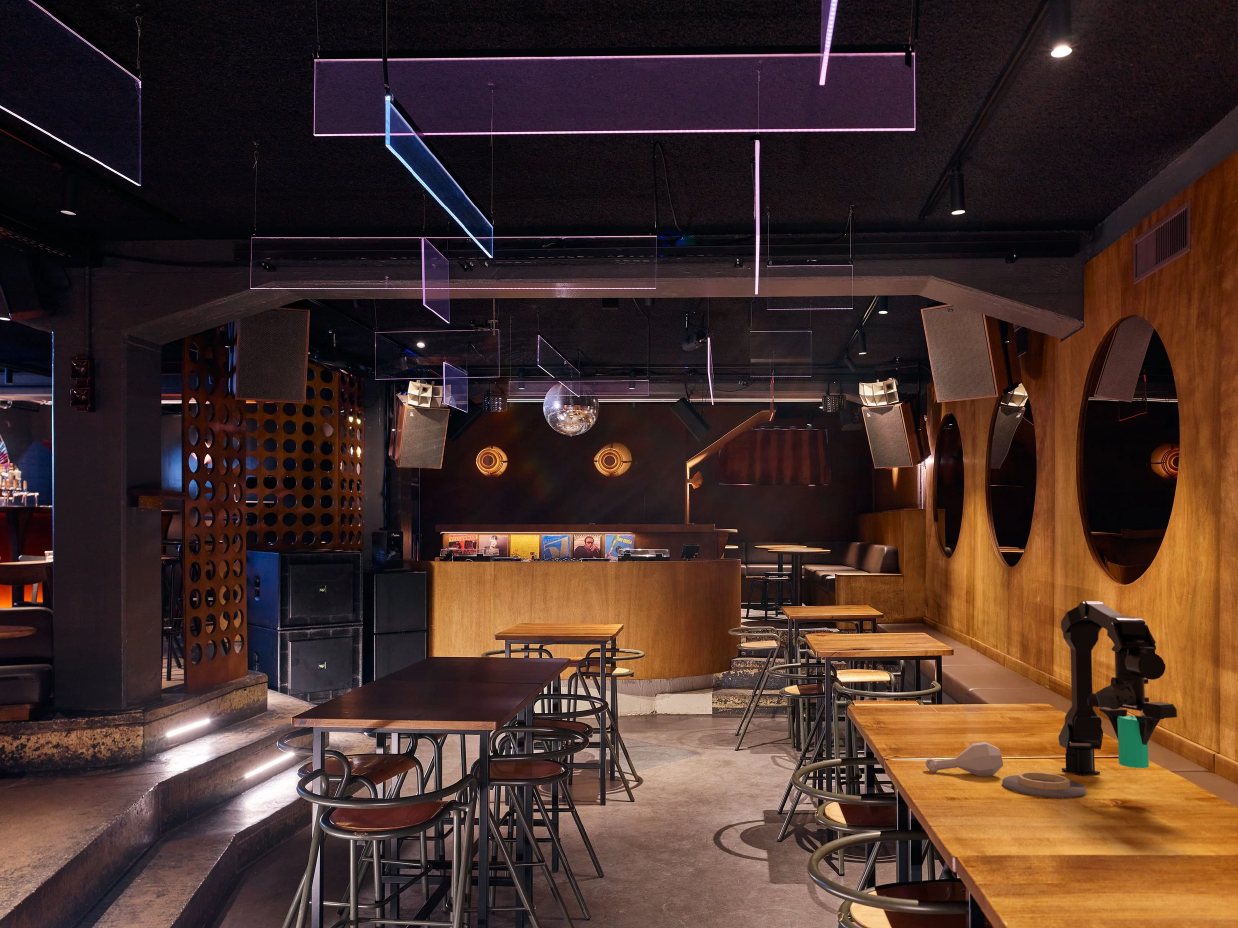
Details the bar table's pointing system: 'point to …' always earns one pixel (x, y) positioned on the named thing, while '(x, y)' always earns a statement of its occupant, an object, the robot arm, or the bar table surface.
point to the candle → (1131, 744)
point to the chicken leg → (972, 760)
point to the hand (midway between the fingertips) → (1132, 744)
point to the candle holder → (1044, 785)
